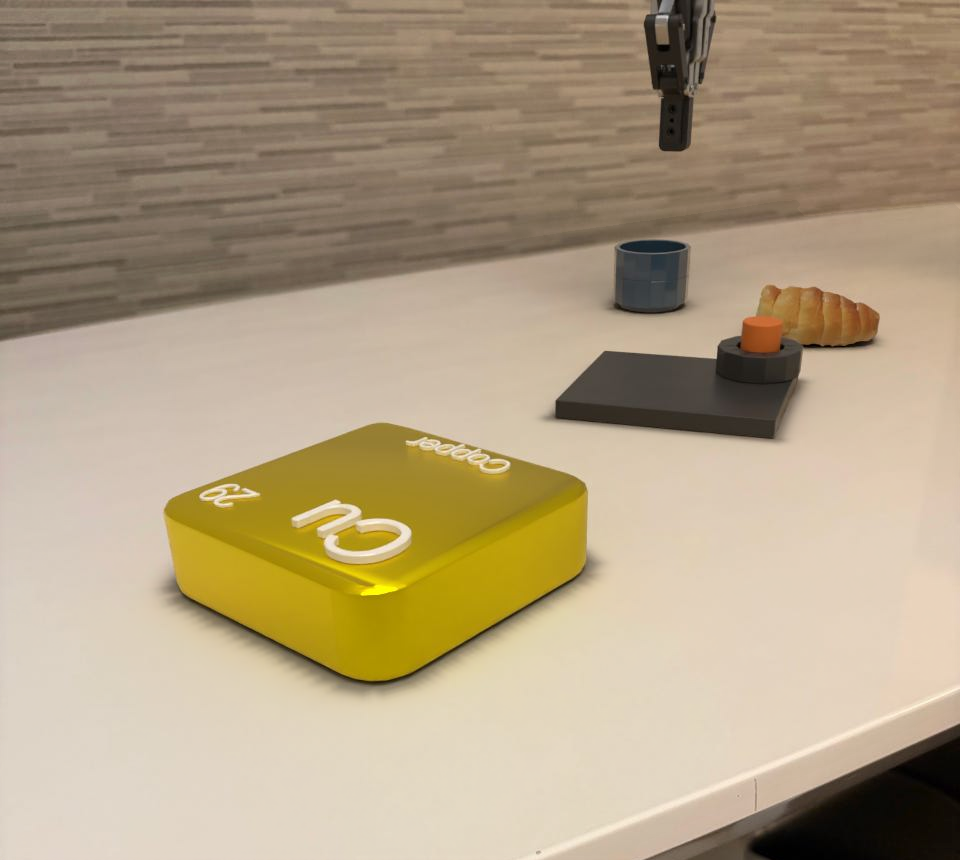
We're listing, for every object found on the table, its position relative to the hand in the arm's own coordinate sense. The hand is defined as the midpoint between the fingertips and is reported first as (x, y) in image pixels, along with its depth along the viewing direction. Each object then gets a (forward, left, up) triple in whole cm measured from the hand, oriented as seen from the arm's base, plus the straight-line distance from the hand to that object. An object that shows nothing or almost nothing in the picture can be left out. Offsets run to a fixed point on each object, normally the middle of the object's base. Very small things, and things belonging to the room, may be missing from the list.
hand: (674, 150), depth 85 cm
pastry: (-12, +3, -13) cm, 18 cm away
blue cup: (+2, -5, -13) cm, 14 cm away
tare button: (-10, +17, -11) cm, 22 cm away
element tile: (+2, +50, -13) cm, 52 cm away
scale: (-6, +20, -13) cm, 25 cm away
